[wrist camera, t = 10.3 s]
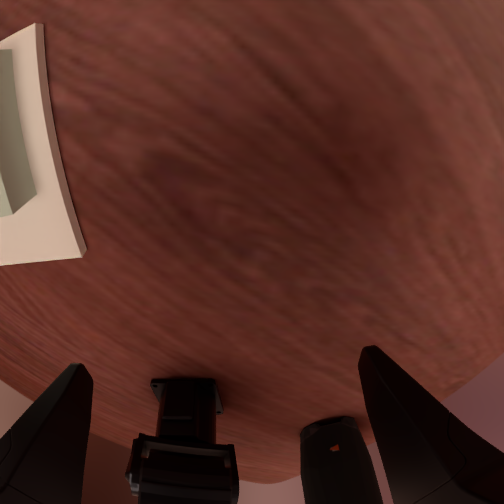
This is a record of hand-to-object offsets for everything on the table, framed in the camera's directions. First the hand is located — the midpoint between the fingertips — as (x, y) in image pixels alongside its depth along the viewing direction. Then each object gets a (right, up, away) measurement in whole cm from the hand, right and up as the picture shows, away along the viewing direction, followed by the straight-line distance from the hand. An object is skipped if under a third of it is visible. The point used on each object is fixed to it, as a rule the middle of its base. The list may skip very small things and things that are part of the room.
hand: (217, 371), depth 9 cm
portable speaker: (+11, -20, +27) cm, 36 cm away
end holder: (-18, +10, +7) cm, 22 cm away
